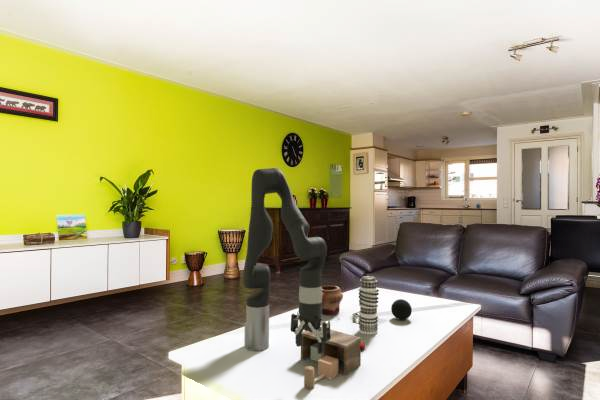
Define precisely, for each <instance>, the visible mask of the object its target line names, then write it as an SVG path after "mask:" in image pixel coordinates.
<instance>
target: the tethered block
mask: <svg viewBox="0 0 600 400" xmlns="http://www.w3.org/2000/svg"><path fill="white" fill-rule="evenodd" d="M317 363H318V364H317V375H318V376H317V377H316V378H315V367H313V365H307V366H304V371H303V372H304V373H303V376H304V377H303V380H304V381H303V384H304V385H303V388H304V389H305V390H313V389H315V383H316V382H318V381H319V380H320V379H323V378H325V379H328V380H331V379H333V378H334V377H336V376H338V374H339V359H336V358H333V357H330V356H327V355H326V356H325V357H323V358H321V359H320V360H318V361H317Z"/></svg>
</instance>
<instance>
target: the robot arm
mask: <svg viewBox="0 0 600 400" xmlns="http://www.w3.org/2000/svg"><path fill="white" fill-rule="evenodd" d="M250 192H251V198H250V199H251V201H250V202H251V203H250V205H251V206H250V218H249V225H248V233H247V234H248V235H247V246H246V247H247V249H246V257H245V261H244V265H243V266H244V267H243V273H242V283H243V286H244V288H245V289H247V290H249V289H250V290H251V289H252V290H253V289H259V290H258V291H256V292H255V293H254V294H251V295H249V296H247V298H246V311H245V312H246V318H245V319H246V321H245V322H244V347H246V349H247V350H249V351H252V352H253V351H255V352H256V351H257V352H258V351H259V352H260V351H263V350H267V349H268V348H269V346H270V343H269V342H270V341H269V340H270V289H271V288H270V287H271V269H270V267H269V266H268V265H267V264H258V265H257V264H256V263H257V261H258V259H259V257H260V256H261V255H262V254H263V253H264V251H265V250H266V249H267V248H268V247H269V246H270V244H271V241H272V238H273V231H274V224H273V220H272V219H271V217H270V215H269V213H268V212H267V209H266V207H265V198H266V195H268V194H277V195H278V197H279V198H280V200H281V207H280V217H281V218H280V219H281V222H282V223H283V225H284V227H285V228H286V230H287V231H288V233H289V235H290V239H291V242H292V243H291V244H292V247H293V251H294V254H295V255H296V256H297V257H298V258H299V259H300V260H302V261H308V262H307V264H306V265H305V266H303V267H302V268H300V269H299V289H298V311H297V312H294V313H292V314H291V316H290V331H291V332H292V333H294V335H295V344H296V347H299V348H300V347H301V345H302V334H301V333H302V332H303V331H309V332H313V334H314V336H316V337H317V339H318V341H319V342H318V354H321V353H323V352H324V350H325V342H327V341H328V340H330V339H331V337H330V329H331V322H330V320H326V321H325V320H322V314H323V313H322V287H323V286H322V277H323V275H322V273H323V269H324V265H325V262H326V257H327V254H328V253H327V252H328V249H327V248H328V247H327V242H326V241H325V239H324V238H322V237H320V236H313V237H312V236H311V237H307V235H308V233H309V232H310V224H309V223H308V221H307V220H306V218H305V217H304V215H303V213H302V212H301V210H300V208H299V207H298V205H297V203H296V201H295V198H294V195H293V193H292V191H291V188H290V186H289V184H288V181H287V178H286V177H285V175H284V173H283V172H282V170H281V169H279V168H277V167H270V168H269V167H268V168H259V169H255V170H254V172H253V173H252V177H251V191H250ZM299 323H300V324H299ZM321 327H322V328H323V330H322V328H321ZM317 330H318V331H319V332H317ZM320 336H321V337H320Z"/></svg>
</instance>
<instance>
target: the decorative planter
mask: <svg viewBox="0 0 600 400" xmlns="http://www.w3.org/2000/svg"><path fill="white" fill-rule="evenodd" d="M321 287H322V314H323V315H327V316H335V315H337V314H339V313H340V304H341V302H342V300H343V298H344V294H343V293H342V290H341V288H340V287H339V286H337V285H326V286H321Z"/></svg>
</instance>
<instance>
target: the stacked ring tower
mask: <svg viewBox="0 0 600 400" xmlns="http://www.w3.org/2000/svg"><path fill="white" fill-rule="evenodd" d="M359 281H360V282H359V284H360V286H359V289H358V291H359V292H358V295H359V296H358V299H359V300H358V302H359V303H358V304H359V307H360V311H359V316H358V317H359V319H358V321H359V322H358V324H359V326H358V328H359V329H358V331H359V332H360V333H361V334H364V335H377V334H378V332H379V331H378V329H379V328H378V327H379V324H378V322H379V321H378V318H379V317H378V307H379V306H378V303H379V297H378V296H379V295H380V293H378V292H379V291H380V290H379V289H378V280H377V279H376V278H375V276H372V275H364V276H362V277H361V278H360V279H359Z"/></svg>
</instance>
